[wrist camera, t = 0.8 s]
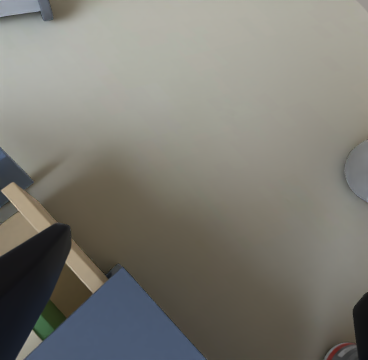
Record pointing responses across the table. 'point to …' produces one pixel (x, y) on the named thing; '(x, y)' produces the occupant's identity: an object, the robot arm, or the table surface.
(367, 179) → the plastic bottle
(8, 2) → the toy car
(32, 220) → the drawer
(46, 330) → the green juice carton
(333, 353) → the pill bottle
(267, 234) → the table surface
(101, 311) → the cabinet
